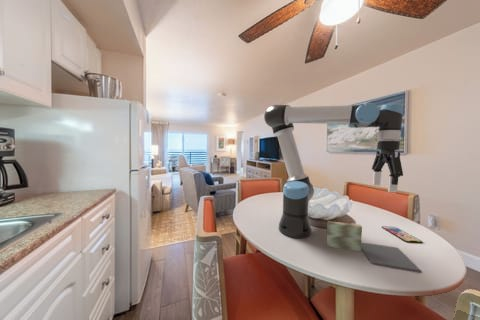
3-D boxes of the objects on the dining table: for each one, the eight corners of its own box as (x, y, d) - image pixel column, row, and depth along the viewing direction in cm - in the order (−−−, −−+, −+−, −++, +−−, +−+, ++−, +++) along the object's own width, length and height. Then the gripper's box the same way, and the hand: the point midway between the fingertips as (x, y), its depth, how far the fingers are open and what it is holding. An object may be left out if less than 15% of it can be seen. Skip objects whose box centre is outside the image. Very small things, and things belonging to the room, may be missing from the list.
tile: (327, 246, 73) (328, 222, 73) (326, 243, 75) (327, 220, 75) (360, 251, 70) (362, 226, 69) (358, 248, 72) (360, 224, 71)
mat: (371, 263, 62) (371, 262, 62) (357, 243, 76) (357, 241, 76) (421, 272, 58) (421, 270, 58) (397, 249, 72) (397, 247, 72)
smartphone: (395, 226, 91) (423, 241, 76) (395, 228, 91) (423, 244, 76) (380, 226, 92) (406, 241, 77) (380, 227, 92) (405, 243, 77)
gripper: (419, 139, 64) (412, 196, 66) (383, 141, 88) (379, 183, 90) (394, 139, 66) (389, 194, 68) (366, 141, 90) (362, 182, 92)
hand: (383, 188), depth 79 cm, fingers open, 13 cm apart
